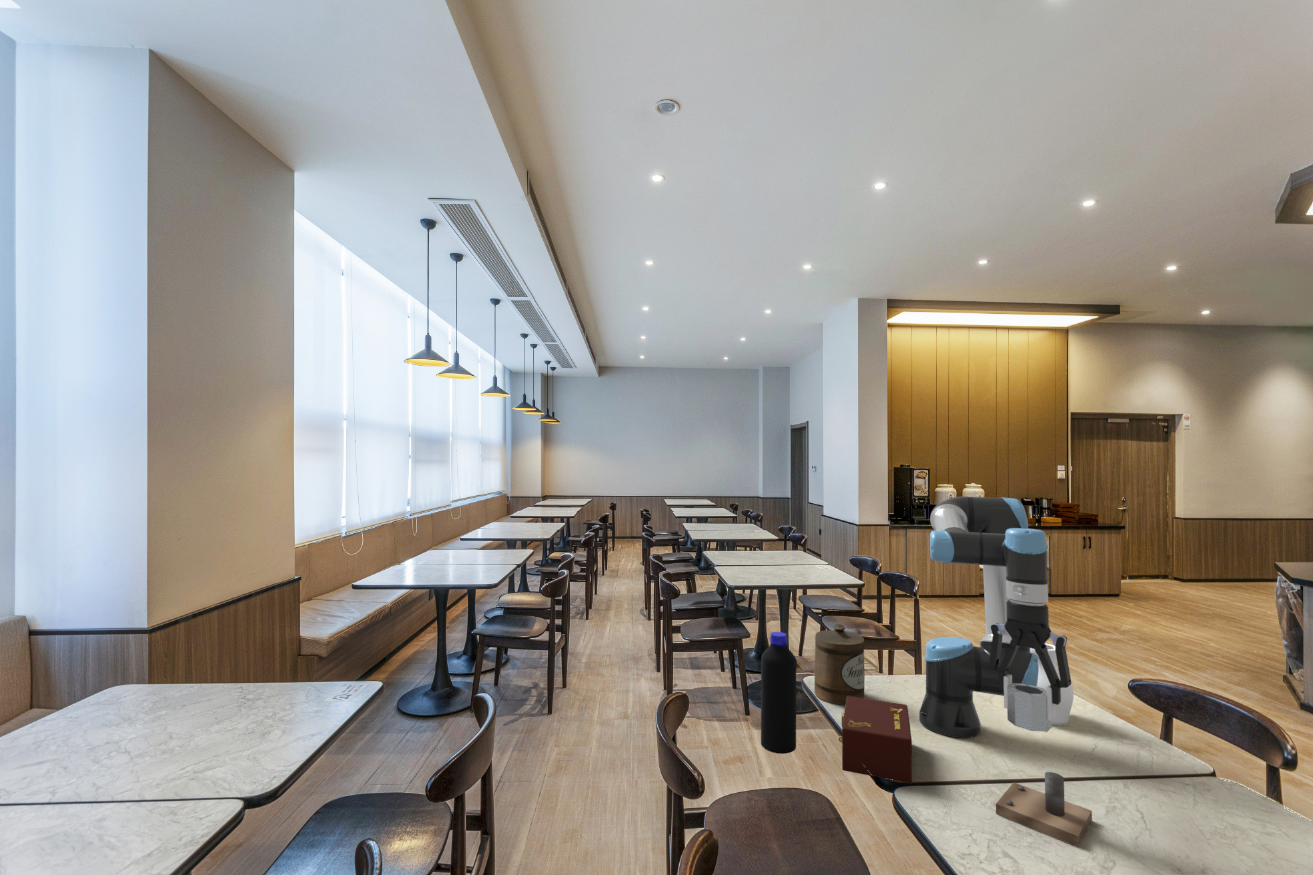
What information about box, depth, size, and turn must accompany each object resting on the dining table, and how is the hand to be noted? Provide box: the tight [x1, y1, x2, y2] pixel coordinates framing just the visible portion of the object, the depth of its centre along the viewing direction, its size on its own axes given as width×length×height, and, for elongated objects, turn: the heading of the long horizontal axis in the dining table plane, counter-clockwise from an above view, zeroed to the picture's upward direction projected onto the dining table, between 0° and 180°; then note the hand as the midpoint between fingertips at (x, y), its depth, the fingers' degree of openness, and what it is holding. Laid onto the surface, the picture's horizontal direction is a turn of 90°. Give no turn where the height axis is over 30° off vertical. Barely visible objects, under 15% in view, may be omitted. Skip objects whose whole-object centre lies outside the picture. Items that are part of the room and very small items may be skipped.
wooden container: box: [814, 623, 866, 706], centre depth 180 cm, size 15×15×22 cm
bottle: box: [760, 631, 797, 755], centre depth 147 cm, size 9×9×28 cm
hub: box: [1006, 683, 1052, 733], centre depth 121 cm, size 7×7×7 cm
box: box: [838, 696, 913, 784], centre depth 143 cm, size 21×16×10 cm
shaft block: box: [995, 771, 1093, 848], centre depth 118 cm, size 14×12×9 cm
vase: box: [1030, 642, 1075, 726], centre depth 166 cm, size 14×14×20 cm
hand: (1029, 712), depth 121 cm, fingers closed on hub, 7 cm apart
